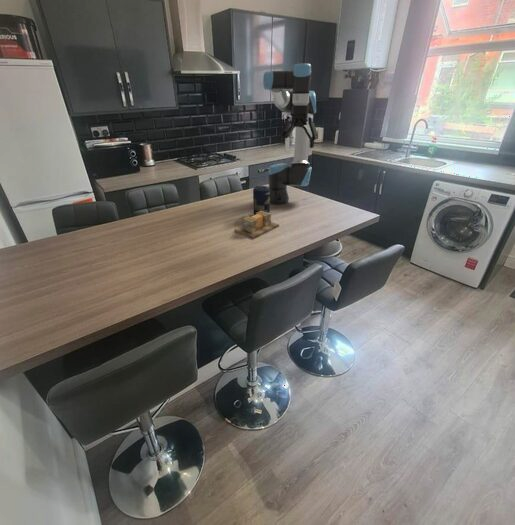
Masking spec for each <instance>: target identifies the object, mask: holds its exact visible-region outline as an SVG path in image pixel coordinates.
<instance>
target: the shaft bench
mask: <svg viewBox="0 0 515 525" xmlns="http://www.w3.org/2000/svg"><path fill="white" fill-rule="evenodd" d="M256 214H259V215H262V216H263V227H260V228H258V220H257V219H254V218H251V216H246V217H242V222H241V223H242V224H241V226H238V227H236V228H234V232H235V233H238V234H241V235H243V236H245V237H248V238H251V239H253V240H255V239H257V238H258V237H261V236H262V235H265V234H268V233H269V232H271V231H273V230H275V229H277V228H279V227H280V224H278V223H275V222H273V221H272V216H271V215H272V214H271V212H270V213H267V212H263V211H259V212H257V213H256Z"/></svg>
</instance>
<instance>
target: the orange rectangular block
mask: <svg viewBox="0 0 515 525" xmlns="http://www.w3.org/2000/svg"><path fill="white" fill-rule="evenodd" d="M250 217H251V218H254V219H257V220H258V228H260V227H263V216H262V215H259V214H256V215H254V214H253V215H252V216H250Z"/></svg>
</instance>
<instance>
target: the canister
mask: <svg viewBox="0 0 515 525" xmlns="http://www.w3.org/2000/svg"><path fill="white" fill-rule="evenodd" d="M252 194H253V195H252V200H253V208H252V209H253V216H254V215H256V213H257V212H259V211H263V212H267V213H270V214H271V212H270V210H271V203H270V188H269V186H266V185H258V186H255V187H253V189H252Z"/></svg>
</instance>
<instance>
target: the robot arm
mask: <svg viewBox="0 0 515 525" xmlns="http://www.w3.org/2000/svg"><path fill="white" fill-rule="evenodd" d="M311 74H312V65H311V64H310V63H306V62H303V63H296V64H294V65H293V70H269V71H265V72H264V73H263V75H262V76H263V78H262V79H263V80H262V81H263V82H262V84H263V89H264V90H267V91H270V92H271V94H272V96H273V98H272V99H273V100H272V101H273V104H274V106H275V108H277V109H278V110H280V111H281V112H284V113H285V114H291V115H287V116H286V120H285V122H284V126H283V127H282V129H281V133H280V137H283V144H284V153H288V152H290V143H291V142H290V141H291V140H290V135H291V134H292V132H293V131H294V129H295V132H294V133H295V134H294V136H295V137H294V149H293V150H294V151H293V152H294V153H293V161H292V162H291V163H290V166H288V163H285V162H284V163H275V164H272V165H270V166H269V168H268V187H269V188H270V205H284V204H288V203H289V201H290V196H289V194H288V189H287V186H288V187H289V186H292V187H293V186H294V187H295V186H296V187H307V186H309V184H310V179H311V173H312V170H313V169H312V166H310V165H311V164H310V162H309V156H311V155H313V148H314V147H315V141H316V140H318V139H319V135H318V134H319V133H318V132H317V129H316V125H315V119H314V114H316V113H317V98H316V93H315V91H314V90H310V89H311V88H310V87H311V82H312V76H311Z"/></svg>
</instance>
